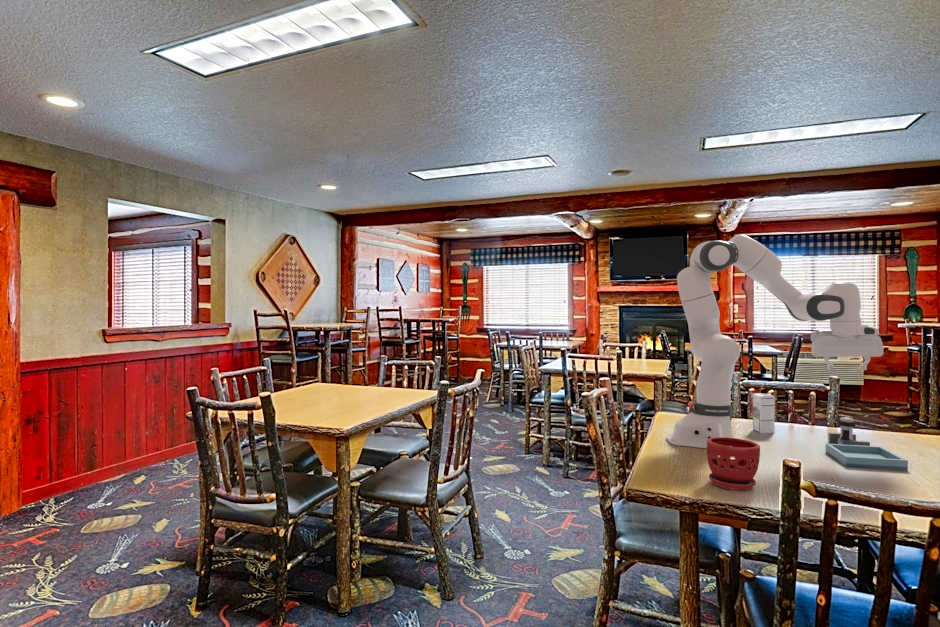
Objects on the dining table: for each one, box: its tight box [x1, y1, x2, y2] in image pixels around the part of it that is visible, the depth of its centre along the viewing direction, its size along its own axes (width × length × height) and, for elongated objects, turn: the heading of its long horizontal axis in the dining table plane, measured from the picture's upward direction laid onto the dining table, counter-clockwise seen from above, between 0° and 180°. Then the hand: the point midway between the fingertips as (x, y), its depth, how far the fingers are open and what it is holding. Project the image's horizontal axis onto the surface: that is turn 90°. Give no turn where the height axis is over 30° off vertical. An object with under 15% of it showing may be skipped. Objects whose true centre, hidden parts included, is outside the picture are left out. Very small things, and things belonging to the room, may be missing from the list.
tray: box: [825, 443, 909, 471], centre depth 169 cm, size 16×16×3 cm
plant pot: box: [706, 437, 761, 491], centre depth 148 cm, size 13×13×12 cm
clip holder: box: [827, 432, 871, 446], centre depth 185 cm, size 8×12×4 cm, turn 165°
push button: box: [836, 416, 857, 444], centre depth 185 cm, size 7×5×10 cm
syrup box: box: [752, 392, 775, 434], centre depth 208 cm, size 6×6×14 cm
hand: (847, 369), depth 184 cm, fingers open, 8 cm apart
